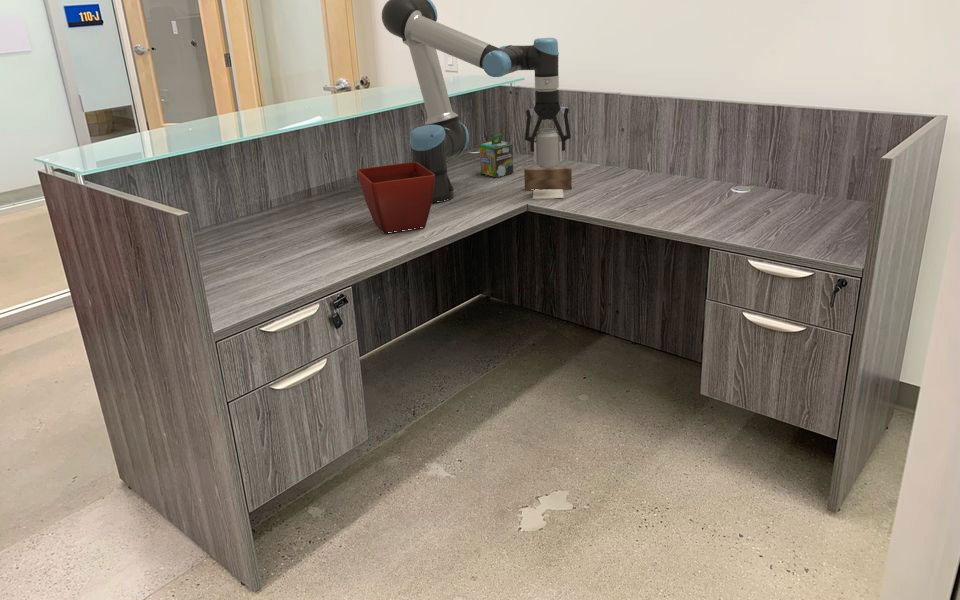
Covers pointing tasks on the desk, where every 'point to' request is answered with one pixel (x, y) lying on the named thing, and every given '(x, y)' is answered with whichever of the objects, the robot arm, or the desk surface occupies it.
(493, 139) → the chalk box
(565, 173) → the walnut plank
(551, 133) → the can
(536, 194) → the pad
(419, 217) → the plant pot
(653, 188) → the desk surface
